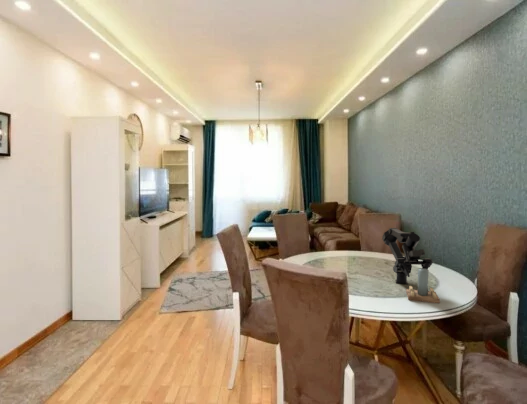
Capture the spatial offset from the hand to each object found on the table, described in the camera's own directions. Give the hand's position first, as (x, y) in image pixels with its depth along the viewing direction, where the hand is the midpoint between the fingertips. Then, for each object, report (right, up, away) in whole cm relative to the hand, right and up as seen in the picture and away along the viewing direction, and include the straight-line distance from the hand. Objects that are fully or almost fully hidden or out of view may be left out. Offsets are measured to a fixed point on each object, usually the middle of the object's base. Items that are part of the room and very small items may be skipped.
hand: (417, 276), depth 172 cm
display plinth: (0, -10, -4) cm, 11 cm away
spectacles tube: (0, -8, -5) cm, 10 cm away
